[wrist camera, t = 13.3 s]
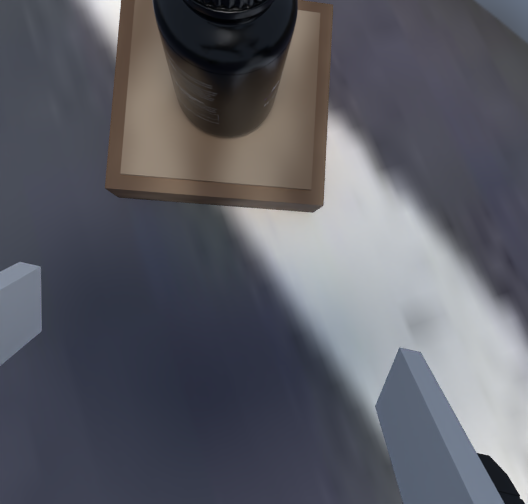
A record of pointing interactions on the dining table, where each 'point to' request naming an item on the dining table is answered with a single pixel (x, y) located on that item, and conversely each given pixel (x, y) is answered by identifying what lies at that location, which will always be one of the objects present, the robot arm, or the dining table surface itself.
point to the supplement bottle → (226, 58)
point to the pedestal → (211, 146)
